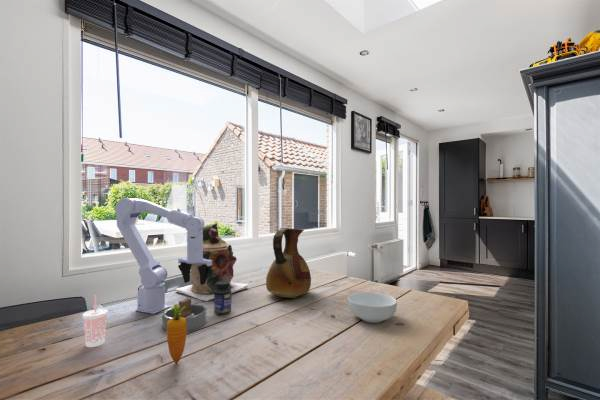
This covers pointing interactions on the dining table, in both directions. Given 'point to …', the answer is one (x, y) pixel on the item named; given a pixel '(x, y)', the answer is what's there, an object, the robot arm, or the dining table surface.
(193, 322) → the grey ashtray
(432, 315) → the dining table surface
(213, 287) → the cookie jar
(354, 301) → the cereal bowl
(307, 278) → the ceramic pitcher
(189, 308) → the tan wooden plank
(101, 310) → the beverage cup
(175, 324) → the carrot
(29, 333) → the dining table surface
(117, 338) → the dining table surface
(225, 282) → the pill bottle
